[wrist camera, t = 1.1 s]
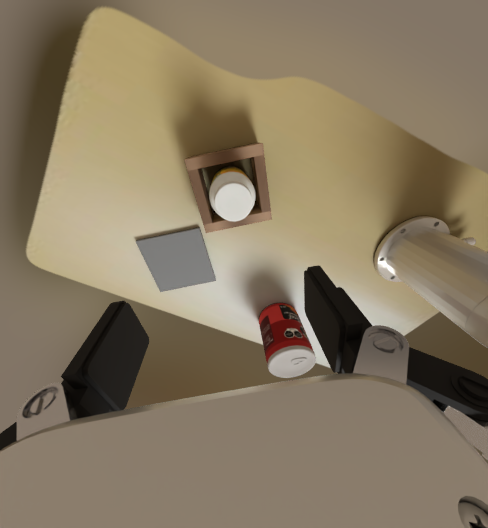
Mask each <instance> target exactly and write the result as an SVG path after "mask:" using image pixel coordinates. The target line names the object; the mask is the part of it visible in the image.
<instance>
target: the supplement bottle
mask: <svg viewBox="0 0 488 528" xmlns="http://www.w3.org/2000/svg"><path fill="white" fill-rule="evenodd" d="M255 198H256V195H255V189H254V186H253V184H252V182H251V181H250V180H249V178H248V177H247V175H246V174H245V173H244V172H243V171H242V170H241V169H239V168H237V167H234V166H227V167H224V168H222V169H220V170H219V171H217V173H216V174H215V175H214V177H213V180H212V183H211V187H210V192H209V199H210V203H211V206H212V208H213V209H214V211H215V212H216V213H217V214H218V215H220V216H221V217H222V218H224V219H225V220H228V221H240V220H242V219H244V218H245V217H246V216H247V215H248V214H249V213H250V211H251V210H252V208H253V206H254V203H255Z"/></svg>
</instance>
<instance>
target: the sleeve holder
mask: <svg viewBox="0 0 488 528" xmlns="http://www.w3.org/2000/svg"><path fill="white" fill-rule="evenodd" d="M246 158H251V163H252V170H253V176H254V183H255V190H256V196H257V203H258V205H254V206H253V208H252V210H251V211H250V213H249V214H248V215H247V216H246V217H245V218H244V219H242V220H240V221H228V220H225V219H224V218H222V217H221V216H220V215H218V214H217V213H215V214H213V211H212V207H211V203H210V199H209V195H208V192H207V188H206V184H205V180H204V177H203V173H202V169H201V168H204V167H209V166H213V165H218V164H223V163H227V162H232V161H237V160H242V159H246ZM184 161H185V164H186V168H187V171H188V174H189V178H190V181H191V184H192V188H193V191H194V194H195V198H196V201H197V205H198V208H199V211H200V215H201V218H202V221H203V225H204V228H205V231H206V233H208V232H213V231H218V230H223V229H228V228H233V227H237V226H242V225H247V224H252V223H257V222H262V221H266V220H271V219H272V217H271V208H270V200H269V191H268V183H267V175H266V166H265V158H264V150H263V143H253V144H248V145H244V146H239V147H234V148H230V149H225V150H220V151H216V152H211V153H206V154H202V155H197V156H192V157H188V158H187V159H185V160H184Z"/></svg>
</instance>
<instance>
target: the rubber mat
mask: <svg viewBox="0 0 488 528" xmlns="http://www.w3.org/2000/svg"><path fill="white" fill-rule="evenodd" d="M136 243H137V245H138V247H139V249H140V251H141V253H142V255H143V257H144V260H145V262H146V264H147V266H148V268H149V270H150V272H151V274H152V276H153V278H154V280H155V282H156V284H157V286H158V288H159V290H160V292H163V291H168V290H173V289H178V288H182V287H187V286H192V285H197V284H202V283H207V282H212V281H216V279H215V275H214V272H213V269H212V266H211V262H210V259H209V256H208V253H207V250H206V246H205V243H204V240H203V237H202V233H201V230H200V227H199V228H194V229H189V230H184V231H179V232H174V233H170V234H165V235H160V236H155V237H150V238H146V239H141V240H137V241H136Z"/></svg>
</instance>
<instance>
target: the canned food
mask: <svg viewBox="0 0 488 528" xmlns="http://www.w3.org/2000/svg"><path fill="white" fill-rule="evenodd" d="M259 324H260V330H261V335H262V340H263V345H264V350H265V356H266V361H267V365H268V368H269V371H270V372H271V373H272V374H273V375H275V376H277V377H282V378H289V377H296V376H299V375H302V374H304V373H305V372H307V371H309V370H310V369H311V368H312V367H313V366H314V364H315V362H316V357H315V354H314V351H313V349H312V346H311V344H310V342H309V339H308V337H307V335H306V332H305V330H304V328H303V325H302V323H301V321H300V318H299V316H298V314H297V312H296V310H295V309H294V308H293V307H292V306H290V305H288V304H285V303H276V304H272V305H270V306H268V307H266V308H265V309H264V310H263V311H262V312H261V314H260V318H259Z"/></svg>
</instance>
